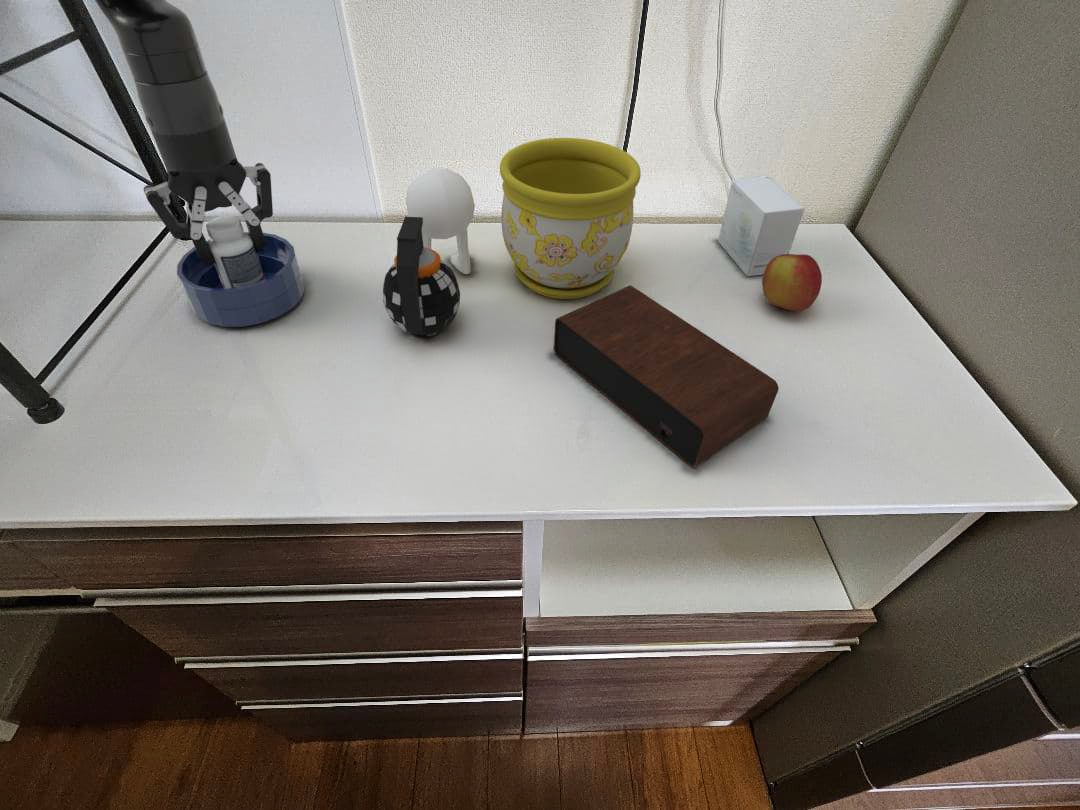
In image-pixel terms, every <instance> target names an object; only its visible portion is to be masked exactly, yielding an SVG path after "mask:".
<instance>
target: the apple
mask: <svg viewBox="0 0 1080 810" xmlns="http://www.w3.org/2000/svg"><path fill="white" fill-rule="evenodd" d="M761 284H762V294H763V296H764V298H765V300H766V301H767V302H768V303H769V304H770V305H772V306H776V307H780V308H782V309H785V310H789V311H794V312H798V313H799V312H804V311H805V310H807V309H809V308H810V307H812V305H813V304H814V303H815V301H816V300H817V298H818V296H819V295H820V293H821V289H822V284H823V275H822V270H821V268H820V265H819V264H818V262H817V260H816V259H815V258H814V257H813V256H811V255H808V254H803V253H802V254H795V253H789V254H782V255H779V256H776V257H774V258H773V259H772V260H771V261H770V262H769V263H768V265H767V267H766V269H765V271H764V274H762V279H761Z"/></svg>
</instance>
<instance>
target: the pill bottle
mask: <svg viewBox="0 0 1080 810" xmlns="http://www.w3.org/2000/svg"><path fill="white" fill-rule="evenodd" d="M205 228H206V231H207V235H208V237H209V238H210V239H211V240H210V239H209V240H210V242H209V245H208V247H209V250H210V252H211V255H212V258H213V260H214V263H215V264H214V265H215V267H216V270H217V272H218V275H219V277H220V280H221V283H222V285H223V287H224V288H235V287H241V286H247V285H250V284H253V283H256V282H259V281H262V280H265V276H264V273H263V270H262V267H261V264H260V261H259V258H258V255H257V252H256V249H255V246H254V243H253V240H252V238H251V237H250V236H249V235H248V234H246V233H244V232H245V230H244V227H243V225H242V222H241V219H240V218H238V217H237V216H233V215H221V216H217V217H214V218H211V219H210V220H209V221H208V222H206V224H205Z"/></svg>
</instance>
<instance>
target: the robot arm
mask: <svg viewBox="0 0 1080 810" xmlns="http://www.w3.org/2000/svg"><path fill="white" fill-rule="evenodd" d="M94 1H95V3H96V5H97V6H98V8H99V9H100V11H101V13H102V14H103V15H104V17H105V18H106V19H107V21H108V22H109V24H110V25H111V27H112V28H113V30H114V32H115V34H116V37H117V40H118V43H119V45H120V48H121V50H122V53H123V56H124V58H125V60H126V63H127V65H128V69H129V70H130V73H131V75H132V79H133V82H134V84H135V88H136V92H137V97H138V100H139V103H140V106H141V109H142V111H143V113H144V116H145V117H144V118H145V121H146V123H147V124H148V127H149V129H150V131H151V134H152V137H153V139H154V142H155V144H156V147H157V149H158V152H159V154H160V157H161V159H162V163H163V165H164V167H165V170H166V177H165V181H163V182H162V183H159V184H157V185H154V186H153V185H151V184H147V185H145V186H144V187H143V193H144V196H145V197H146V200H147V201H148V203H149V205H150V206H151V208H152V209H153V210H154V211H155V213H156V215H157V216H158V217H159V219H160V220H161V222H162V223H163V225H164V226H165V227H166V229H167V230H168V231H169V233H170V234H171V236H172V237H173V238H174V239H176V240H181V239H183V238H185V239H186V238H187V239H190V240H191V241H192V244H193V246H194V247H195V249H196V251H197V254H198V256H199V258H200V260H201V261H202V262H205V261H207V262H208V264H209V265H212V264H215V263H214V260H213V258H212V255H211V252H210V250H209V247H208V245H207V242H206V241H207V240H206V237H205V235H204V233H203V223H204V222H205V215H206V214H205V213H206V212H211V211H214V210H217V209H218V208H230V207H234V208H235V209H236V210H237V211H238V212H239V213H240V214H241V215H242V216H243V217H244V219H245V220H244V222H245V225H246V228H247V232H249V234H250V237H251V238H252V240H253V243H254V246H255V249H256V251H257V253H259V252H262V251H263V250H262V247H264V246H265V245H266V241H265V238H264V235H263V233H264V231H263V229H262V225H261V223H262V221H263V220H265V219H270V218H272V217H273V215H274V209H273V194H272V176H271V172H270V171H269V169H268V168H267V167H266V166H265V164H264V163H262V162H258V163H256V164H255V165H254V166H243V164H242V163H241V162H239V160H238V158H237V154H236V150H235V149H234V145H233V142H232V138H231V135H230V132H229V129H228V125H227V123H226V118H225V116H224V109H223V106H222V104H221V103H220V99H219V96H218V93H217V91H216V89H215V87H214V84H213V82H212V80H211V77H210V75H209V72H208V70H207V67H206V63H205V61H204V58H203V53H202V49H201V47H200V44H199V41H198V37H197V35H196V32H195V29H194V27H193V24H192V22H191V20H190V18H189V17H188V15H187V14H186V13H185V12H184V11H183V10H181V9H180V8H179V7H177V6H176V5H173V4H172V3H170V2H168V1H167V0H94ZM247 178H248V179H249V180H250V182H251V183H252V185H253V186H255V191H256V205H255V206H254V207H251V206H250V204H249V203H248V202H247V201H246V200H245V198H243V196H242V195H241V191H242V188H243V186H244V183H245V180H246V179H247ZM171 193H173V194H174V195H176V196H177V197H179V198H180V199H182V200H183V201H185V202H186V221H185V222H178V220H177V219H176V217H175V215H174V214H173V212H172V211H171V210H170V208H169V207H168V206H169V205H170V204H171V199H170V194H171Z"/></svg>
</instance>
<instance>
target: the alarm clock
mask: <svg viewBox="0 0 1080 810" xmlns="http://www.w3.org/2000/svg"><path fill="white" fill-rule="evenodd" d="M553 352H554V354H555V356H556V357H557V358H558V359H559V360H561V362H563V363H564V364H565V365H566V366H567V367H569V368H570V369H571V370H572V371H574V372H575V373H576V374H577V375H578V376H580V377H581V378H583V380H584V381H586V382H587V383H588V384H590V385H591V386H592V387H593V388H594V389H596V390H597V391H598V392H599V393H601V395H603V396H605V398H606V399H608V400H609V401H610V402H611V403H613V404H614V405H615V406H616V407H617V408H619V409H620V410H621V411H622V412H623V413H625V414H626V415H627V416H628V417H629V418H631V419H632V420H633V421H634V422H636V423H637V424H638V425H639V426H640V427H641V428H642V429H644V430H645V431H646V432H648V433H649V434H650V435H651V436H652V437H654V438H655V439H656V440H657V441H658V442H660V443H661V444H662V445H663V446H664V447H665V448H667V449H668V450H669V451H671V453H673V454H674V455H675V456H676V457H678V458H679V459H680V460H681V461H682V462H684V463H685V464H687V466H689V467H690V468H696V467H698V466H699V465H700V464H701V463H703V462H704V461H706V460H708V459H709V458H710V457H711V456H713V455H715V454H717V452H720V451H721V450H722V449H724V448H725V447H726V446H728V445H730V444H731V443H732V442H734V441H736V440H737V439H738V438H740V437H741V436H742V435H744V434H745V433H747V432H749V431H750V430H752V429H753V428H755V427H756V426H757V425H759V424H760V423H762V422H763V421H765V420H766V419H767V418H768V417H769V414H770V412H771V409H772V407H773V405H774V402H775V400H776V398H777V395H778V392H779V388H780V387H779V385H778V382H777V381H776V380H775V379H774V378H772V377H771V376H769V375H768V374H767V373H765V372H764V371H762V370H761V369H759V368H757V367H756V366H755V365H753V364H751V363H750V362H748V361H747V360H745V359H744V358H742V357H741V356H739V355H737V354H736V353H735V352H733V351H732V350H730V349H728V348H727V347H726V346H724V345H723V344H721V343H719V342H718V341H716V340H715V339H713V338H712V337H710V336H709V335H707V334H705V333H704V332H702V331H701V330H700V329H698V328H697V327H695V326H694V325H692V324H691V323H689V322H688V321H686V320H685V319H683V318H681V317H680V316H679V315H677V314H675V313H674V312H672V311H671V310H669V309H668V308H666V307H665V306H663V305H662V304H660V303H659V302H657V301H656V300H654V299H653V298H651V297H650V296H648V295H646V294H645V293H643V292H642V291H641V290H638V289H637V288H636V287H634V286H633V285H626V286H625V287H622V288H621V289H618V290H616V291H614V292H612V293H610V294H607V295H605V296H602V297H600V298H599V299H596V300H593V301H592V302H590V303H587V304H585V305H583V306H581V307H579V308H576V309H574V310H572V311H570V312H567V313H566V314H562V315H560V316H559V317H556V318H555V321H554V336H553Z"/></svg>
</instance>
